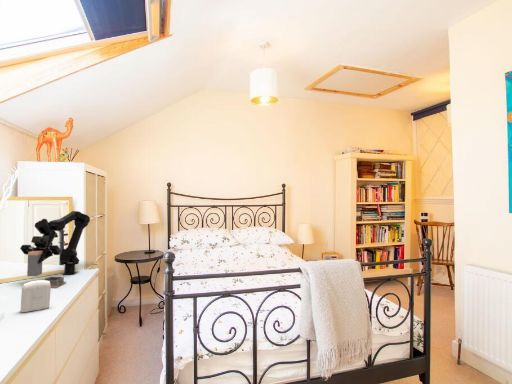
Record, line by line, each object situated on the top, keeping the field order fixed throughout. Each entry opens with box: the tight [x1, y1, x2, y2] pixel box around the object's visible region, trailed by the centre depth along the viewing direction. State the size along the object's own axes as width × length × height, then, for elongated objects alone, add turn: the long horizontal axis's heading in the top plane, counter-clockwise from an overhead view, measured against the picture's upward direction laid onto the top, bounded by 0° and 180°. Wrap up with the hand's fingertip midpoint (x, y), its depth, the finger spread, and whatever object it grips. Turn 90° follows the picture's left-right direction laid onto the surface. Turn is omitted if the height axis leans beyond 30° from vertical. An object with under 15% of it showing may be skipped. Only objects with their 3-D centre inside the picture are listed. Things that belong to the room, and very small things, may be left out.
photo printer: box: [19, 279, 52, 313], centre depth 132 cm, size 10×4×12 cm, turn 134°
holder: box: [43, 276, 67, 289], centre depth 167 cm, size 9×9×4 cm
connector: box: [26, 251, 43, 277], centre depth 162 cm, size 5×5×13 cm
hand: (33, 263), depth 161 cm, fingers closed on connector, 5 cm apart
